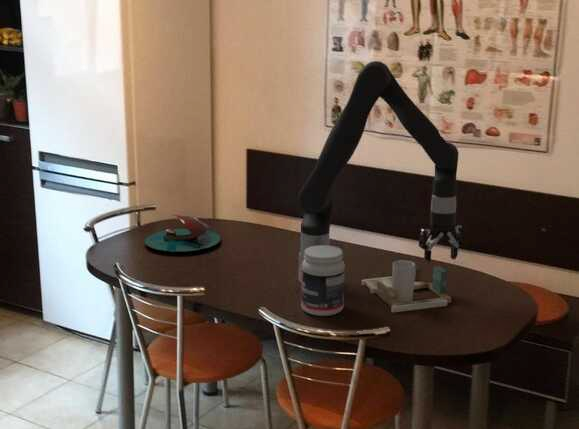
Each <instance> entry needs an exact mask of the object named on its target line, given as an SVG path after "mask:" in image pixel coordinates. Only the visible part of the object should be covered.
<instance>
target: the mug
mask: <svg viewBox="0 0 579 429" xmlns="http://www.w3.org/2000/svg"><path fill="white" fill-rule="evenodd" d="M415 266H416V263H415V262H413V261H411V260H399V259H398V260H395V261H393V262H392V270H391V271H392V274H391V275H392V276H391V277H392V292H393V293H395V294H396V295H397V297H396V303H404V302H412V301H413V296H414V290H413V288H414V282H415V276H416V269H415Z"/></svg>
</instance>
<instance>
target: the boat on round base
mask: <svg viewBox="0 0 579 429" xmlns="http://www.w3.org/2000/svg"><path fill="white" fill-rule="evenodd" d="M174 216H175V218H176V217H177V219H179V220H180V221H181V222H182V223H181V224H182V227H183V226H184V227H185V228H179V229H177V228H175V229H168V228H166V230H160V231H157V232H155V233H152V234H150V235H148V236H147V237H146V238H145V239H144V243H145V245H146V246H148V247H149V248H151V249H155V250H158V251H165V252H191V251H198V250H199V251H200V250H204V249H208V248H211V247H213V246H216V245H217V244H218V243H220V241H221V236H220V235H218V234H217V233H215V232H214V231H211V230H209V225H207V223H204V222H202V221H200V220H199V219H198V218H197V216H196V217H194V216H191V215H178V214H172V217H173V219H174ZM154 241H155V242H154Z"/></svg>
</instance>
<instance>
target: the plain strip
mask: <svg viewBox="0 0 579 429" xmlns="http://www.w3.org/2000/svg"><path fill="white" fill-rule="evenodd" d="M415 269H416V276H415V282H421V280H420V279H421V269H420V267H418V266H417V265H415ZM380 281H381V282H382V283H383V284H384V285H385V286H389V285H392V278H391V279H382V280H373V281H365V285H364V286H366V287H367V288H368V289H369V290H370V291H371V288H372V287H377V282H380ZM415 282H414V283H415Z"/></svg>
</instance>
